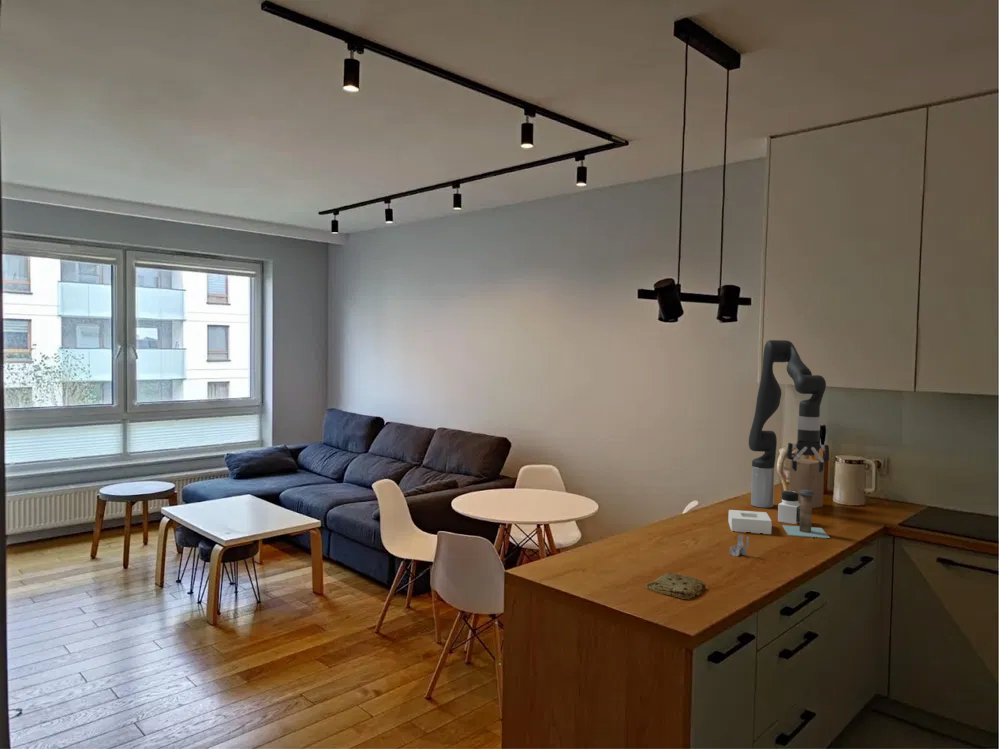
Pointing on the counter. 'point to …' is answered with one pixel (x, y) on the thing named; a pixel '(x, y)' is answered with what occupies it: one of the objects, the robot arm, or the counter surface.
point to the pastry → (677, 585)
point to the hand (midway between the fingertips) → (807, 471)
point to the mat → (795, 532)
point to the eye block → (749, 521)
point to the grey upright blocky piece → (739, 547)
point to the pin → (806, 510)
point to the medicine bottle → (789, 508)
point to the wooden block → (808, 480)
